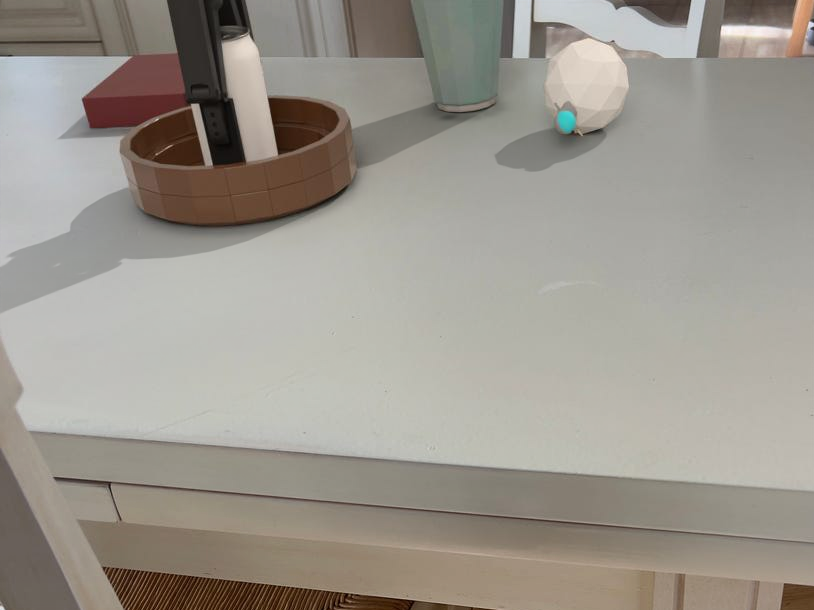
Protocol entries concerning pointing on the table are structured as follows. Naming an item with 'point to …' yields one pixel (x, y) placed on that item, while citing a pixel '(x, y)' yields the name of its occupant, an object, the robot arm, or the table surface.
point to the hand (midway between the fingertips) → (242, 164)
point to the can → (243, 96)
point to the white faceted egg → (585, 86)
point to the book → (137, 92)
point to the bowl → (240, 166)
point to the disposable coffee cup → (461, 50)
